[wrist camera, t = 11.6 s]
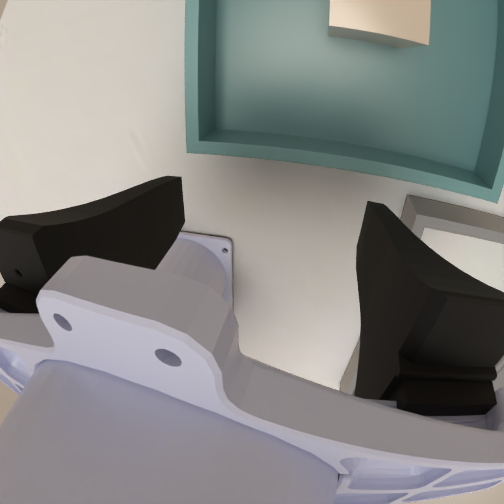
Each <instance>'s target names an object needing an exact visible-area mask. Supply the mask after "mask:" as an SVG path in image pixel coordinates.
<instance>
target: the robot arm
mask: <svg viewBox="0 0 504 504" xmlns="http://www.w3.org/2000/svg"><path fill="white" fill-rule="evenodd" d="M184 223H185V215H184V204H183V192H182V179H181V177H175V176H164V177H160V178H157V179H154V180H151V181H148V182H145V183H143V184H140V185H137V186H135V187H132V188H130V189H127V190H124V191H122V192H119V193H116V194H113V195H111V196H108V197H105V198H102V199H99V200H96V201H93V202H89V203H86V204H83V205H79V206H74V207H70V208H66V209H61V210H56V211H51V212H44V213H38V214H28V215H17V216H8V217H5V218H4V219H3V220H1V221H0V273H1V275H2V277H3V279H4V281H5V282H6V283H5V284H4V285H3V286H2V287H1V288H0V381H2V382H3V383H4V384H5V385H7V386H8V387H9V388H10V389H12V390H13V391H14V392H16V393H17V394H18V395H19V396H18V398H17V399H16V401H15V402H14V404H13V406H12V407H11V409H10V411H9V412H8V414H7V415H6V417H5V419H4V421H3V422H2V424H1V426H0V504H401V503H409V502H417V501H424V500H431V499H438V498H444V497H450V496H455V495H461V494H466V493H471V492H476V491H481V490H486V489H490V488H492V487H494V486H496V485H498V484H500V483H502V482H504V387H501V388H499V389H497V390H495V391H494V386H493V382H492V381H494V380H495V379H496V378H497V372H496V368H495V365H496V364H497V363H498V362H499V361H500V359H501V358H502V357H503V356H504V292H502V291H500V290H497V289H495V288H493V287H491V286H488V285H486V284H484V283H483V282H481V281H479V280H477V279H475V278H473V277H472V276H470V275H468V274H466V273H465V272H463V271H461V270H460V269H458V268H457V267H455V266H454V265H452V264H451V263H449V262H448V261H446V260H445V259H444V258H442V257H441V256H440V255H438V254H437V253H436V252H435V251H433V250H432V249H431V248H429V247H428V246H427V245H426V244H425V243H424V242H423V241H421V240H420V239H419V238H418V237H417V236H416V235H415V234H414V233H413V232H412V231H411V230H410V229H409V228H408V227H407V226H406V225H405V224H404V223H403V222H402V221H401V220H400V219H399V218H398V217H397V216H396V215H395V214H394V213H393V212H392V211H391V210H390V209H389V208H388V207H387V206H385V205H384V204H381V203H376V202H370V201H367V206H366V210H365V215H364V219H363V223H362V228H361V232H360V236H359V240H358V244H357V255H356V271H357V281H358V291H359V302H360V313H361V332H360V349H359V360H358V370H357V378H356V386H355V393H354V396H353V395H350V394H347V393H344V392H341V391H338V390H335V389H332V388H329V387H326V386H323V385H321V384H318V383H315V382H312V381H309V380H307V379H304V378H301V377H298V376H296V375H293V374H290V373H288V372H285V371H282V370H280V369H277V368H275V367H272V366H270V365H267V364H265V363H262V362H260V361H257V360H255V359H252V358H250V357H247V356H245V355H243V354H242V353H241V352H240V349H239V344H238V323H237V321H236V318H235V315H234V312H233V296H232V242H231V240H229V239H227V238H222V237H215V236H208V235H201V234H194V233H187V232H180V231H181V229H182V227H183V225H184ZM224 248H226V249H227V250H228V251H226V250H224Z"/></svg>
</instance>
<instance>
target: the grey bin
mask: <svg viewBox="0 0 504 504" xmlns="http://www.w3.org/2000/svg"><path fill="white" fill-rule="evenodd" d="M401 221H402V222H403V223H404V224H405V225H406V226H407V227H408V228H409V229H410V230H411V231H412V232H413V233H414V234H415V235H416V236H417V237H418V238H419V239H421V236H422V233H423V230H424V227H426V228H431V229H436V230H441V231H446V232H451V233H456V234H461V235H466V236H470V237H475V238H479V239H484V240H488V241H493V242H497V243H502V244H504V217H500V216H496V215H492V214H489V213H485V212H481V211H477V210H473V209H469V208H465V207H461V206H457V205H452V204H448V203H444V202H439V201H435V200H430V199H426V198H421V197H416V196H411V195H407V198H406V202H405V206H404V209H403V213H402V217H401ZM359 349H360V338H359V341H358V343H357V346H356V348H355V350H354V353H353V355H352V357H351V360H350V362H349V364H348V366H347V369H346V371H345V373H344V375H343V377H342V380H341V382H340V390H339V391H341V392H344V393H347V394H350V395H353V396H354V393H355V386H356V378H357V370H358V360H359ZM503 365H504V356H503V357H502V358H501V359H500V361H499V362H498V363H497V364H496V365H495V368H496V372H498V371H499V370H500V369H501V368H502V366H503Z"/></svg>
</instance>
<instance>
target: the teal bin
mask: <svg viewBox="0 0 504 504" xmlns="http://www.w3.org/2000/svg"><path fill="white" fill-rule="evenodd" d="M328 19H329V0H186V2H185V115H186V144H187V153H198V154H213V155H226V156H238V157H249V158H259V159H269V160H278V161H286V162H294V163H302V164H310V165H317V166H324V167H331V168H337V169H343V170H350V171H356V172H361V173H367V174H373V175H378V176H384V177H389V178H394V179H399V180H404V181H409V182H413V183H418V184H423V185H427V186H432V187H436V188H440V189H444V190H449V191H453V192H457V193H461V194H465V195H469V196H472V197H476V198H480V199H483V200H487V201H491V202H494V203H498V200H499V197H500V194H501V191H502V188H503V185H504V0H431V12H430V34H429V45H427V46H417V47H407V48H396V47H391V46H387V45H382V44H377V43H371V42H366V41H360V40H354V39H347V38H340V37H332V36H328Z"/></svg>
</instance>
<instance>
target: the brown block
mask: <svg viewBox="0 0 504 504" xmlns="http://www.w3.org/2000/svg"><path fill="white" fill-rule="evenodd" d="M430 12H431V0H329V19H328V36H332V37H340V38H347V39H354V40H360V41H366V42H371V43H377V44H382V45H387V46H391V47H396V48H407V47H417V46H427V45H429V34H430Z"/></svg>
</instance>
